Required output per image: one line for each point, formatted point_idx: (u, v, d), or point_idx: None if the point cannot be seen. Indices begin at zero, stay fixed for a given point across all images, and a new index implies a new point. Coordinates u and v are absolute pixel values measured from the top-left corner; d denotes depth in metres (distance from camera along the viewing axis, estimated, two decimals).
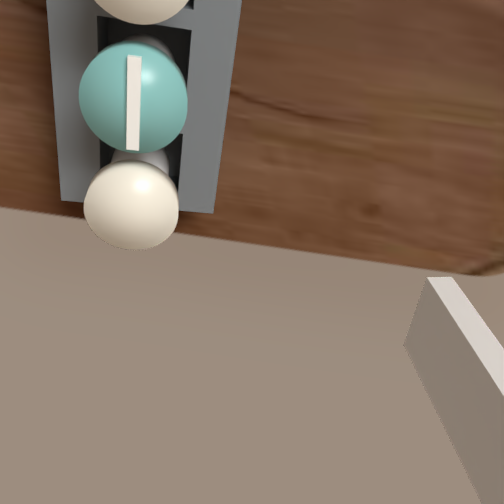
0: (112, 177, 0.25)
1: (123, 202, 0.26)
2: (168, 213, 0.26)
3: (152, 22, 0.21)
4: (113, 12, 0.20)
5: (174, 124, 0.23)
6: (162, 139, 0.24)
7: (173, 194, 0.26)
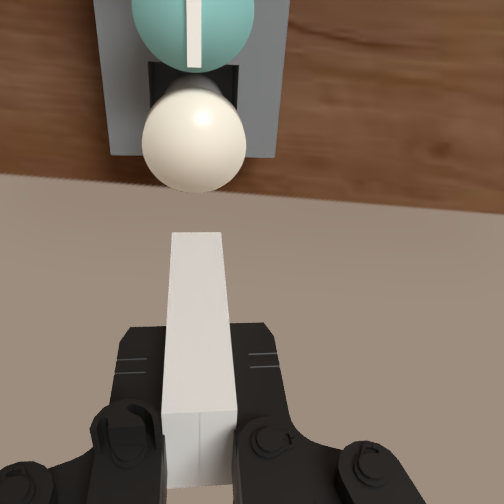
0: (172, 105, 0.22)
1: (185, 135, 0.23)
2: (235, 144, 0.23)
3: None
4: None
5: (240, 32, 0.20)
6: (226, 52, 0.21)
7: (239, 121, 0.23)
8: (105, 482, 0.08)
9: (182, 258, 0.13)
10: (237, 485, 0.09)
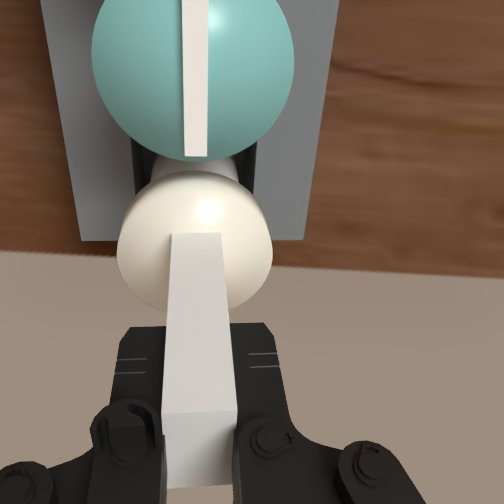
0: (162, 205, 0.14)
1: None
2: (256, 254, 0.16)
3: None
4: None
5: (269, 102, 0.13)
6: (247, 132, 0.13)
7: (264, 223, 0.15)
8: (105, 482, 0.08)
9: (182, 258, 0.13)
10: (237, 485, 0.09)
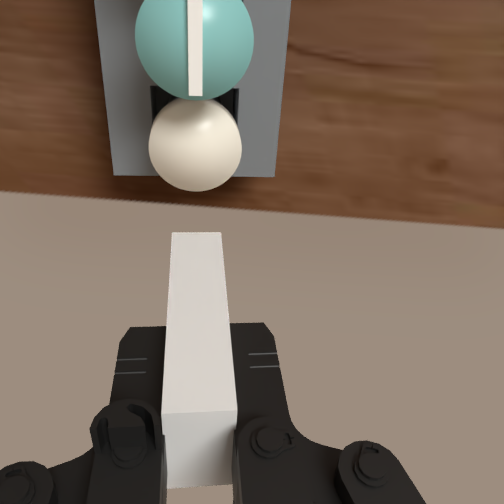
0: (175, 112, 0.25)
1: (187, 139, 0.25)
2: (231, 147, 0.26)
3: None
4: None
5: (240, 62, 0.21)
6: (227, 81, 0.21)
7: (236, 127, 0.26)
8: (105, 482, 0.08)
9: (182, 258, 0.13)
10: (237, 485, 0.09)
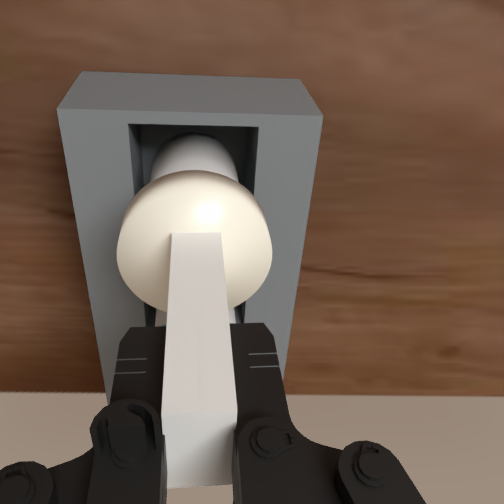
0: None
1: None
2: None
3: None
4: None
5: None
6: None
7: None
8: (105, 482, 0.08)
9: (182, 258, 0.13)
10: (237, 485, 0.09)
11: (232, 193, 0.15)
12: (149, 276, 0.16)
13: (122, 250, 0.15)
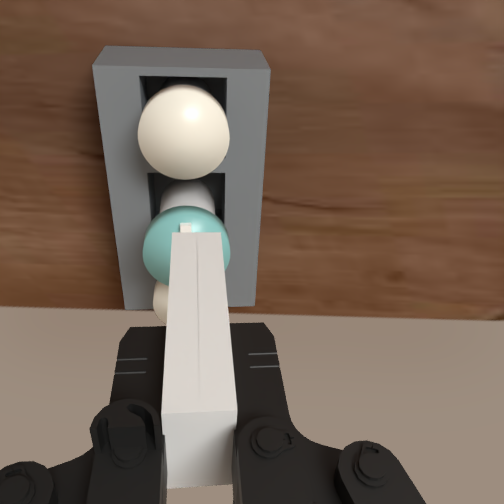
0: None
1: None
2: None
3: (197, 177, 0.28)
4: (169, 174, 0.27)
5: None
6: None
7: None
8: (105, 482, 0.08)
9: (182, 258, 0.13)
10: (237, 485, 0.09)
11: (203, 95, 0.25)
12: (156, 149, 0.27)
13: (141, 131, 0.26)
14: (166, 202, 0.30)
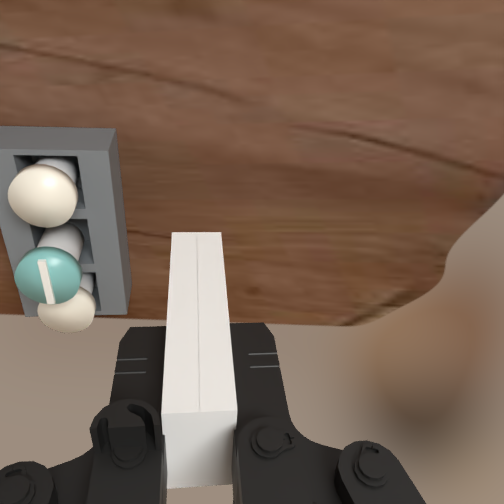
0: None
1: (59, 309, 0.44)
2: (87, 311, 0.45)
3: (56, 225, 0.39)
4: (34, 224, 0.39)
5: (73, 288, 0.40)
6: (68, 296, 0.40)
7: (88, 301, 0.44)
8: (105, 482, 0.08)
9: (182, 259, 0.13)
10: (237, 485, 0.09)
11: (52, 173, 0.37)
12: (23, 208, 0.38)
13: (10, 196, 0.37)
14: (40, 241, 0.41)
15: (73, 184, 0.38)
